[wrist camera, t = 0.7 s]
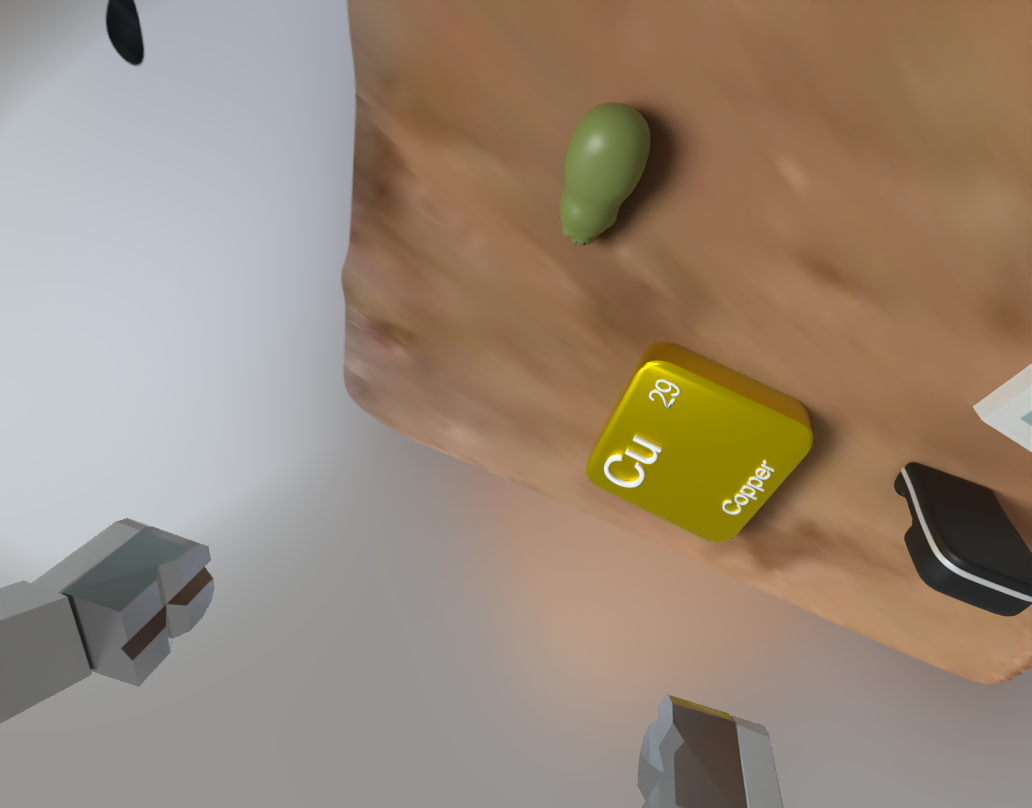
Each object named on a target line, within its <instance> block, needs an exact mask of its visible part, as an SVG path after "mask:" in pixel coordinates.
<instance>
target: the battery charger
mask: <svg viewBox="0 0 1032 808" xmlns="http://www.w3.org/2000/svg"><path fill="white" fill-rule="evenodd" d="M894 488H895V490H896V492H897V493H898V494H899V495H901V496H903V497H905V498H906V500H907V503H908V506H909V509H910V513H911V516H912V526H911V527H910V528H909V529H908V531H907V532H906V534H905V537H904V540H905V543H906V546H907V548H908V551H909V554H910V556H911V558H912V561H913V563H914V565H915V568H916V570H917V572H918V574H919V576H920V577H921V579H922V580H923V581H924V582H925V583H926V584H927V585H928V586H929V587H931V588H933V589H934V590H936V591H938V592H940V593H943V594H945V595H948V596H950V597H953V598H955V599H958V600H960V601H963V602H965V603H968V604H970V605H973V606H976V607H978V608H981V609H984V610H987V611H989V612H992V613H995V614H998V615H1002V616H1015V615H1017V614H1019V613H1020V612H1022V611H1023V610H1025V609H1026V608H1027V607H1029V606H1030V605H1031V604H1032V553H1031V552H1030V550H1029V549H1028V547H1027V545H1026V544H1025V542H1024V541H1023V539H1022V538H1021V536H1020V535H1019V533H1018V532H1017V530H1016V529H1015V527H1014V526H1013V524H1012V523H1011V521H1010V520H1009V518H1008V517H1007V515H1006V514H1005V512H1004V511H1003V509H1002V507H1001V505H1000V504H999V502H998V500H997V499H996V497H995V495H994V493H993V492H992V491H991V490H989V489H987V488H984V487H981V486H979V485H976V484H973V483H970V482H968V481H965V480H962V479H959V478H957V477H954V476H951V475H948V474H945V473H942V472H939V471H937V470H934V469H931V468H928V467H925V466H922V465H919V464H916V463H908V464H907V465H906V466H904V467H903V468H902V469H901V472H900V474H899V475H898V476H897V478H896V480H895V483H894Z"/></svg>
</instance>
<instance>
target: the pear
mask: <svg viewBox="0 0 1032 808" xmlns="http://www.w3.org/2000/svg"><path fill="white" fill-rule="evenodd" d="M650 144H651V137H650V130H649V127H648V124H647V122H646V121H645V119H644V118H643V116H642V115H641V114H640V113H639V112H638V111H636V110H635V109H634V108H632V107H630V106H628V105H625V104H621V103H604V104H601V105H598V106H596V107H595V108H593V109H592V110H590V111H589V112H588V113H587V114H586V115H585V116H584V118H583V119H582V120H581V122H580V123H579V125H578V127H577V128H576V130H575V132H574V134H573V136H572V139H571V141H570V143H569V146H568V149H567V153H566V156H565V162H564V178H565V185H564V188H563V192H562V195H561V199H560V219H561V222H562V224H563V225H562V228H561V232H562V233H563V234H564V235H567V236H570V237H572V244H575V243H577V242H578V243H580V244H581V245H583V246H584V245H587V244H591V243H592V242H593V241H594V239H595V238H596V237H597V236H598V235H599V234H600V233H602V232H603V231H604V230H606V229H607V228H608V227H611V226H612V225H613V224H614V223H615V221H616V219H617V215H618V211H619V208H620V206H621V204H622V202H623V201H624V200H625V199H626V198H627V197H628V196H629V195H630V194H631V193H632V192H633V190H634V189H635V187H636V186H637V184H638V182H639V180H640V178H641V176H642V173H643V171H644V168H645V166H646V163H647V159H648V156H649V151H650ZM573 238H574V239H573Z"/></svg>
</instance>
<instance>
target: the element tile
mask: <svg viewBox="0 0 1032 808" xmlns="http://www.w3.org/2000/svg"><path fill="white" fill-rule="evenodd" d="M812 443H813V434H812V429H811V424H810V420H809V415H808V412H807V409H806V408H805V406H804V405H803V404H802V403H801V402H799V401H798V400H796V399H795V398H793V397H790V396H788V395H786V394H784V393H782V392H779V391H777V390H775V389H773V388H771V387H769V386H766V385H764V384H762V383H760V382H758V381H755V380H753V379H751V378H749V377H747V376H744V375H742V374H740V373H738V372H736V371H734V370H731V369H729V368H727V367H725V366H723V365H720V364H718V363H716V362H714V361H712V360H709V359H707V358H705V357H703V356H701V355H699V354H696V353H694V352H692V351H690V350H688V349H685V348H683V347H681V346H679V345H677V344H674V343H670V342H659V343H655V344H652V345H651V346H650V347H648V348H647V349H646V350H645V351H644V353H643V354H642V355H641V357H640V359H639V361H638V363H637V365H636V367H635V368H634V370H633V372H632V374H631V376H630V378H629V379H628V381H627V383H626V385H625V387H624V389H623V391H622V392H621V394H620V396H619V398H618V400H617V402H616V404H615V405H614V407H613V409H612V411H611V413H610V415H609V416H608V418H607V420H606V422H605V424H604V426H603V428H602V429H601V431H600V433H599V435H598V437H597V439H596V441H595V443H594V446H593V448H592V451H591V454H590V456H589V459H588V462H587V465H586V474H587V476H588V479H589V480H590V481H591V482H592V483H593V484H594V485H595V486H597V487H598V488H600V489H603V490H605V491H607V492H609V493H611V494H613V495H615V496H617V497H619V498H621V499H623V500H625V501H627V502H629V503H631V504H633V505H635V506H637V507H639V508H641V509H643V510H645V511H647V512H649V513H651V514H653V515H655V516H657V517H659V518H661V519H663V520H665V521H668V522H670V523H672V524H674V525H676V526H678V527H680V528H682V529H684V530H686V531H688V532H690V533H692V534H694V535H696V536H698V537H700V538H702V539H705V540H707V541H712V542H717V543H718V542H726V541H728V540H730V539H732V538H733V537H735V536H736V535H737V534H738V533H739V532H740V530H741V529H742V528H743V527H744V526H745V525H746V524H747V522H748V521H749V520H750V519H751V518H752V517H753V516H754V514H755V513H756V512H757V511H758V510H759V509H760V508H761V506H762V505H763V504H764V503H765V502H766V501H767V499H768V498H769V497H770V496H771V495H772V494H773V493H774V491H775V490H776V489H777V488H778V487H779V486H780V485H781V483H782V482H783V481H784V480H785V479H786V478H787V477H788V475H789V474H790V473H791V472H792V471H793V470H794V469H795V467H796V466H797V465H798V464H799V463H800V462H801V461H802V459H803V458H804V457H805V456H806V455H807V454H808V452H809V451H810V449H811V447H812Z"/></svg>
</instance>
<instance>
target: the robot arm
mask: <svg viewBox="0 0 1032 808" xmlns="http://www.w3.org/2000/svg"><path fill="white" fill-rule="evenodd" d="M210 560H211V558H210V553H209V547H208V546H206V545H203V544H200V543H197V542H195V541H192V540H188V539H186V538H183V537H180V536H178V535H175V534H172V533H169V532H166V531H163V530H160V529H158V528H155V527H152V526H149V525H146V524H143V523H140V522H137V521H134V520H131V519H128V518H127V519H123V520H120V521H117V522H115V523H113V524H112V525H110V526H109V527H108V528H106V529H105V530H104V531H102V532H101V533H99V534H98V535H97V536H95V537H94V538H93V539H91V540H90V541H88V542H87V543H86V544H85V545H83V546H82V547H80V548H79V549H78V550H76V551H75V552H73V553H72V554H71V555H69V556H68V557H67V558H65V559H64V560H63V561H61V562H60V563H58V564H57V565H56V566H54V567H53V568H51V569H50V570H49V571H47V572H46V573H45V574H43V575H42V576H41V577H39V578H38V579H36V580H35V581H34V582H32V583H29V582H26V581H21V582H18V583H15V584H12V585H9V586H6V587H3V588H0V723H2V722H4V721H6V720H7V719H9V718H11V717H13V716H15V715H17V714H19V713H21V712H23V711H24V710H26V709H28V708H30V707H32V706H34V705H36V704H38V703H39V702H41V701H43V700H45V699H47V698H49V697H51V696H53V695H54V694H56V693H58V692H60V691H62V690H64V689H66V688H67V687H69V686H71V685H73V684H75V683H77V682H79V681H81V680H83V679H84V678H86V677H88V676H90V675H91V674H92V672H91V671H93V672H96V673H99V674H102V675H105V676H108V677H111V678H114V679H118V680H120V681H124V682H127V683H130V684H133V685H136V686H140V685H141V684H142V683H143V682H144V680H145V679H146V678H147V677H148V676H149V675H150V674H151V673H152V672H153V671H154V670H155V668H157V666H158V665H159V664H160V663H161V662H162V661H163V660H164V659H165V658H166V657H167V656H168V655H169V653H170V652H171V646H172V639H173V638H175V637H177V636H179V635H182V634H184V633H186V632H189V631H191V629H192V628H193V627H194V626H195V625H196V624H197V623H198V621H199V620H200V619H201V618H202V617H203V615H204V613H205V612H206V609H207V608H208V606H209V604H210V602H211V601H212V596H213V591H214V583H213V577H212V576H211V575H210V573H209V572H208V571H207V570H206V568H205V567H204V566H205V565H206V564H207V563H208V562H209V561H210ZM638 787H639V789H640V791H641V793H642V795H643V797H644V799H645V801H646V802H645V803H644V805H643V807H642V808H783V804H782V799H781V793H780V789H779V784H778V778H777V773H776V768H775V763H774V757H773V753H772V747H771V742H770V737H769V733H768V732H767V730H766V728H765V727H764V726H762V725H760V724H757V723H753V722H751V721H747V720H744V719H741V718H737V717H735V716H731V715H729V714H728V713H725V712H722V711H719V710H715V709H712V708H709V707H706V706H703V705H699V704H696V703H693V702H689V701H686V700H683V699H680V698H676V697H674V696H670V695H667V696H666V697H664V699H663V701H662V702H661V704H660V706H659V720H658V721H656V722H653V723H650V725H649V727H648V729H647V732H646V734H645V736H644V739H643V744H642V747H641V752H640V758H639V767H638Z"/></svg>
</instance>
